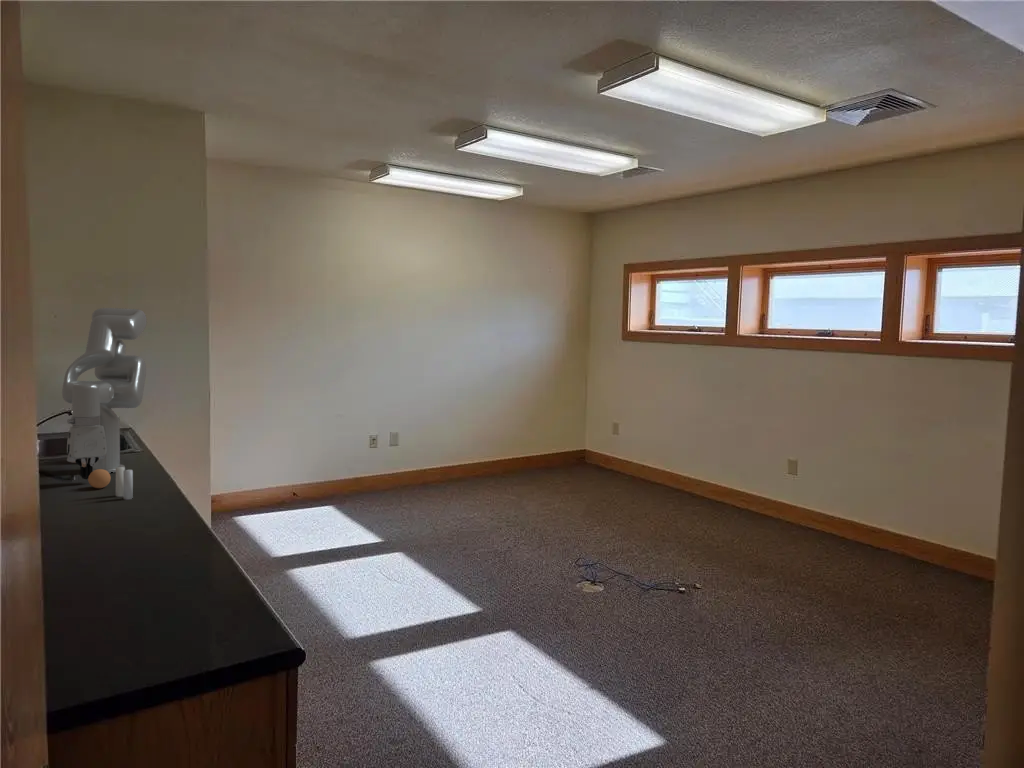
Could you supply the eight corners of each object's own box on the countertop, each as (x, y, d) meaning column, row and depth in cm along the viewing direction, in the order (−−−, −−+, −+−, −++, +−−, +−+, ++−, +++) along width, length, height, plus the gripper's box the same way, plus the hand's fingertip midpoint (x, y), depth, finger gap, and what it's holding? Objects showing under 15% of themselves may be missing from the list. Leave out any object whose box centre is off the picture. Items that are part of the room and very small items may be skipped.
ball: (87, 487, 210) (86, 468, 209) (109, 485, 213) (109, 466, 213) (89, 491, 205) (89, 471, 205) (112, 488, 209) (112, 470, 208)
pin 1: (115, 495, 201) (115, 467, 201) (124, 494, 203) (124, 466, 202) (116, 497, 199) (116, 469, 199) (125, 496, 201) (125, 468, 200)
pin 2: (122, 498, 198) (122, 470, 198) (132, 497, 200) (131, 469, 199) (124, 499, 197) (124, 471, 196) (133, 498, 198) (133, 470, 197)
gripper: (64, 424, 205) (64, 483, 206) (116, 421, 217) (116, 476, 218) (54, 422, 209) (55, 480, 210) (106, 419, 221) (106, 473, 223)
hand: (86, 478), depth 214 cm, fingers closed
